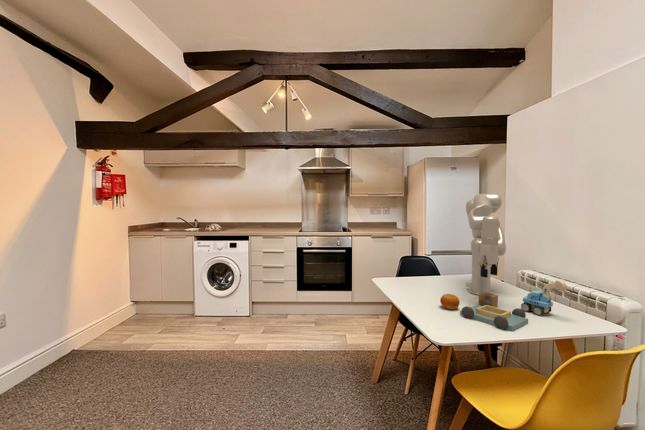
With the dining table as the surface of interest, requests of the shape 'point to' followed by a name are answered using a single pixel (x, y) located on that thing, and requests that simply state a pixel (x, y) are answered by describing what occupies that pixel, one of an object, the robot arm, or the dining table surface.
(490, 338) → the dining table surface
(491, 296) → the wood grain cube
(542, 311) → the toy excavator
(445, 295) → the fruit
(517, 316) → the chassis
